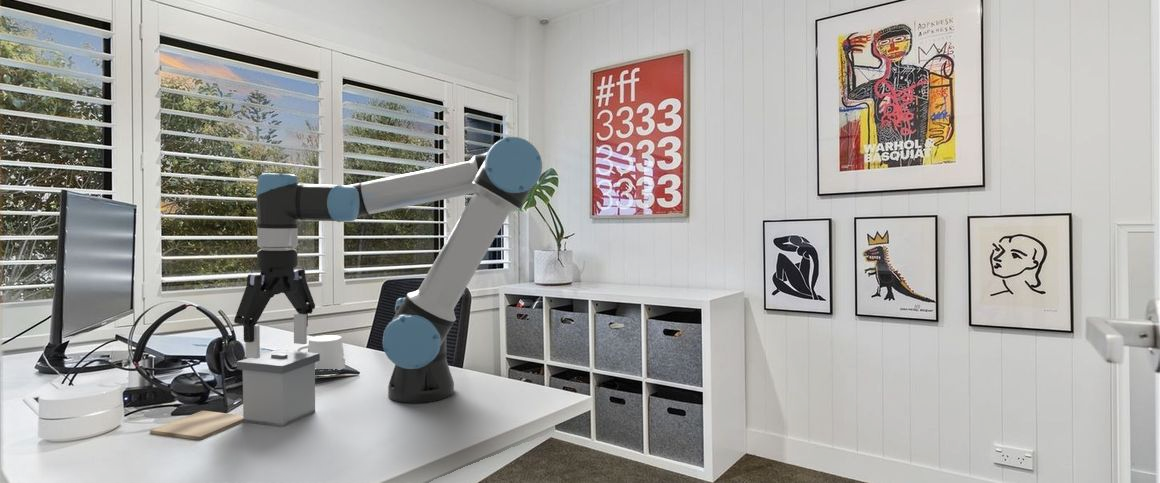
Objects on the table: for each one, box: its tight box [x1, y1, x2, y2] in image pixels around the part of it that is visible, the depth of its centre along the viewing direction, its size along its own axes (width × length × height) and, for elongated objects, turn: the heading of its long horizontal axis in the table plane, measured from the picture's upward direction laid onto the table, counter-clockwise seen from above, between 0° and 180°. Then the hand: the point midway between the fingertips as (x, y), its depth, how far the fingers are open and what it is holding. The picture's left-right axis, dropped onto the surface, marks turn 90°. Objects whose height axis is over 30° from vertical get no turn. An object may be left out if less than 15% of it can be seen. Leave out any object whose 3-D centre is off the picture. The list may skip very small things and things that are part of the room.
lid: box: [236, 349, 320, 374], centre depth 129 cm, size 11×11×3 cm
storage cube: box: [242, 363, 316, 427], centre depth 129 cm, size 10×10×11 cm
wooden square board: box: [149, 410, 245, 441], centre depth 124 cm, size 12×12×1 cm
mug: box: [296, 334, 346, 370], centre depth 163 cm, size 12×9×8 cm
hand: (277, 350), depth 129 cm, fingers open, 13 cm apart
